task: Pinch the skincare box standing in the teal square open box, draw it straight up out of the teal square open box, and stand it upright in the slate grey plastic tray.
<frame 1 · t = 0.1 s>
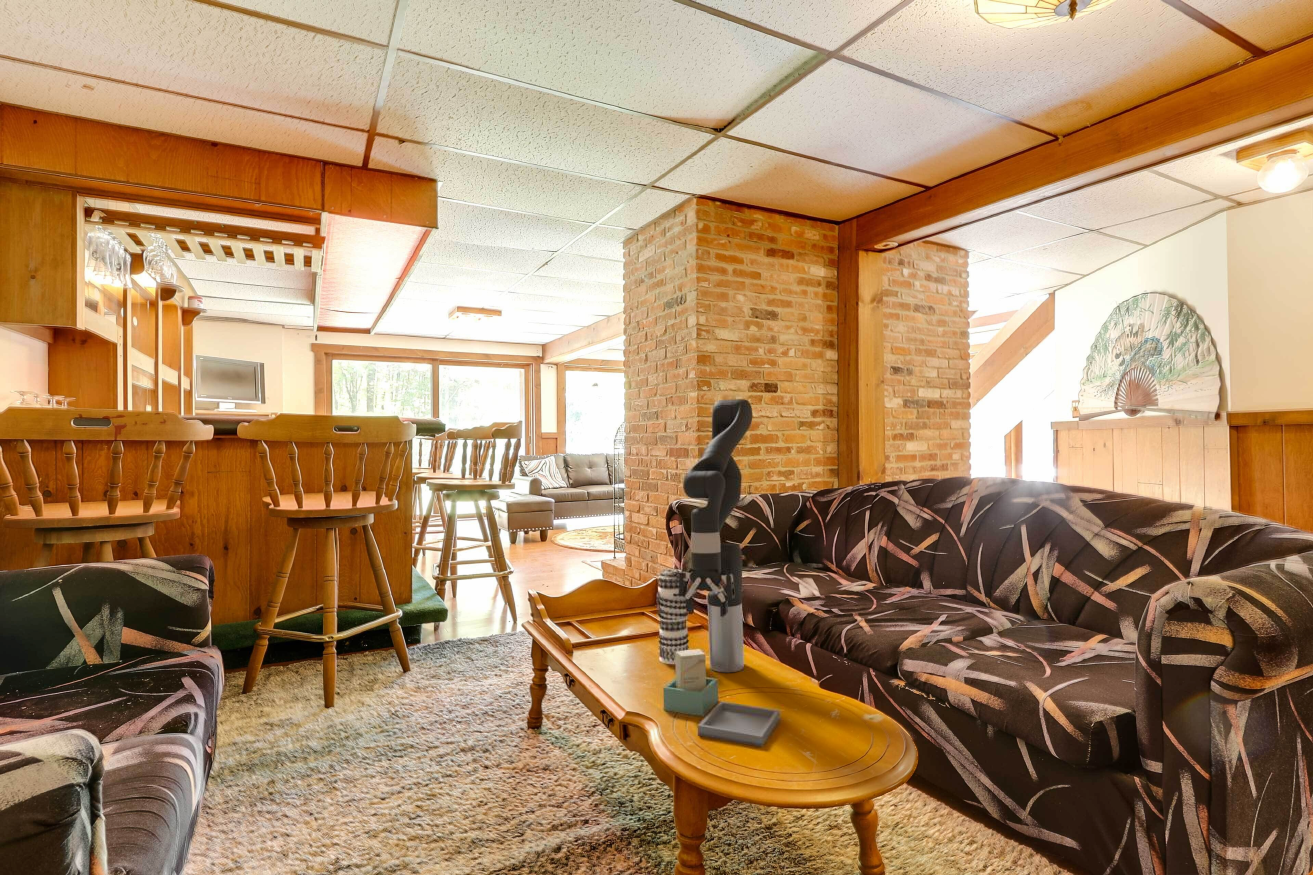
hand: (706, 614, 158), 17 cm above the table, tool pointing down, fingers open, 8 cm apart
skincare box: (691, 705, 145), resting in teal square open box
teal square open box: (691, 704, 145), on the table
decorative candle: (674, 659, 178), on the table
tray: (740, 727, 133), on the table
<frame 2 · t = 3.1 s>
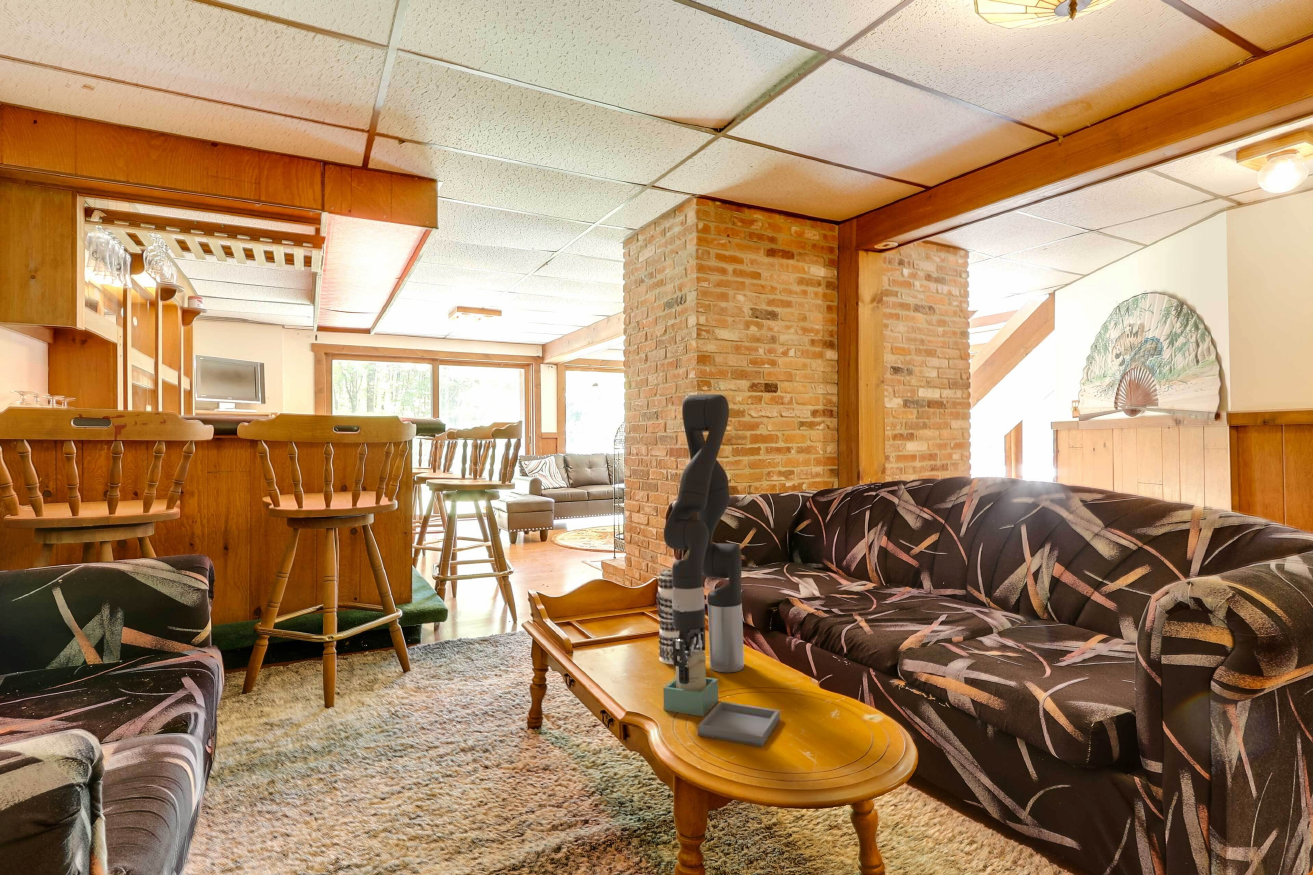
hand: (690, 677, 145), 6 cm above the table, tool pointing down, fingers closed on skincare box, 7 cm apart
skincare box: (691, 705, 145), resting in teal square open box, touching gripper
everything else where it was.
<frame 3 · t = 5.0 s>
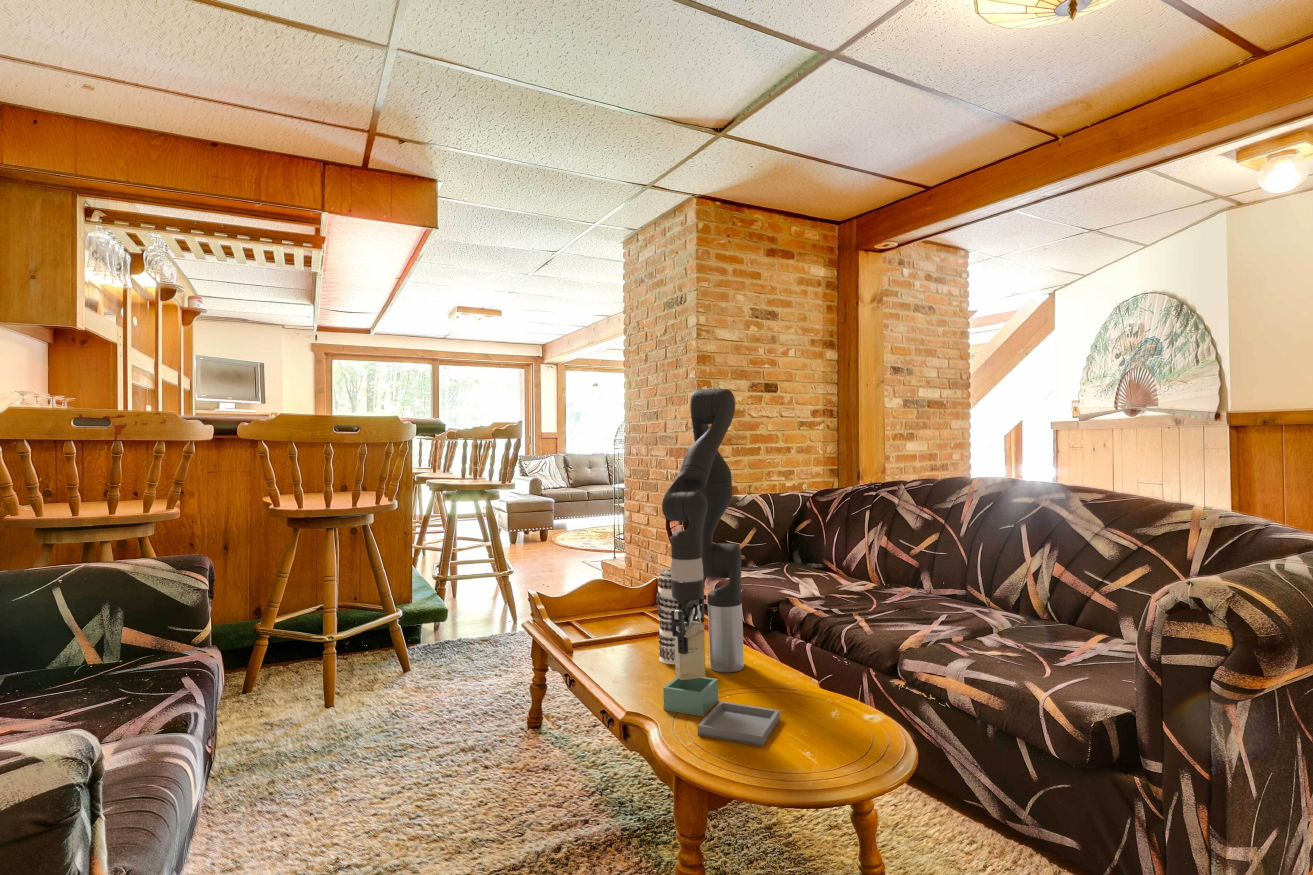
hand: (689, 648, 145), 13 cm above the table, tool pointing down, fingers closed on skincare box, 7 cm apart
skincare box: (690, 676, 145), point 6 cm above the table, touching gripper
everything else where it was.
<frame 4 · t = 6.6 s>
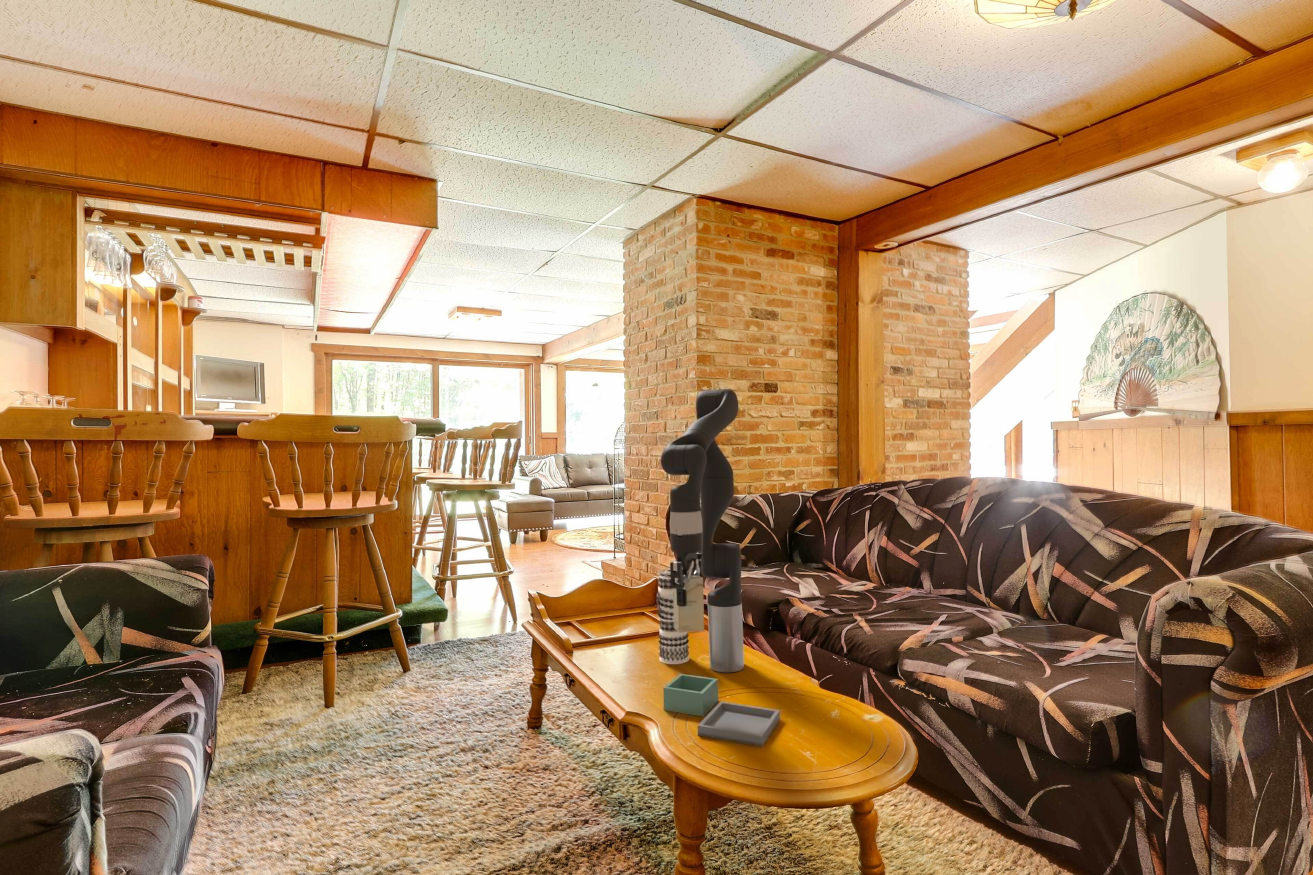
hand: (688, 601, 146), 24 cm above the table, tool pointing down, fingers closed on skincare box, 7 cm apart
skincare box: (689, 630, 145), point 17 cm above the table, touching gripper
everything else where it was.
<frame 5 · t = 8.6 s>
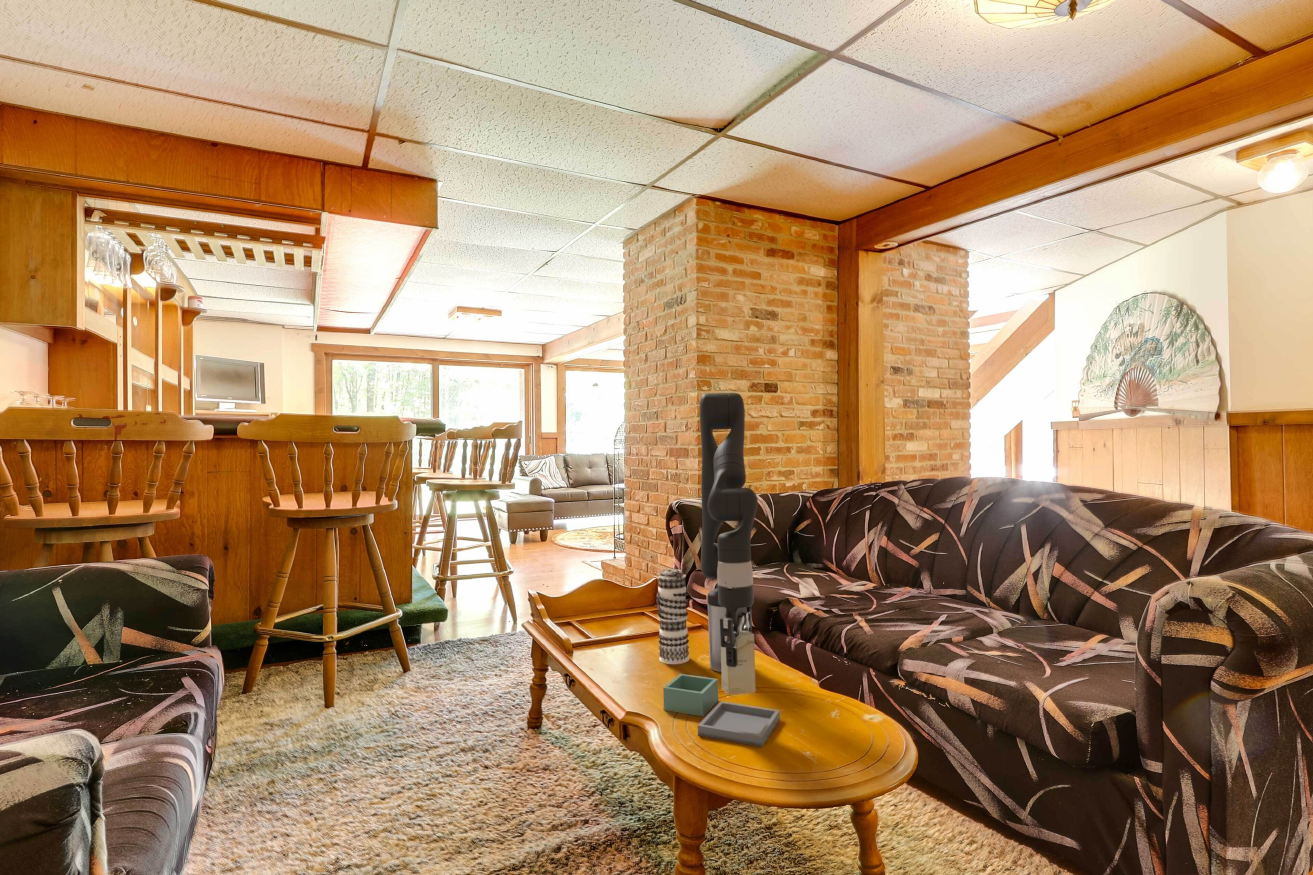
hand: (737, 660, 133), 14 cm above the table, tool pointing down, fingers closed on skincare box, 7 cm apart
skincare box: (738, 691, 133), point 7 cm above the table, touching gripper
everything else where it was.
when the fingers open (8 cm above the table, at t = 10.1 s): skincare box drops 1 cm, resting on tray.
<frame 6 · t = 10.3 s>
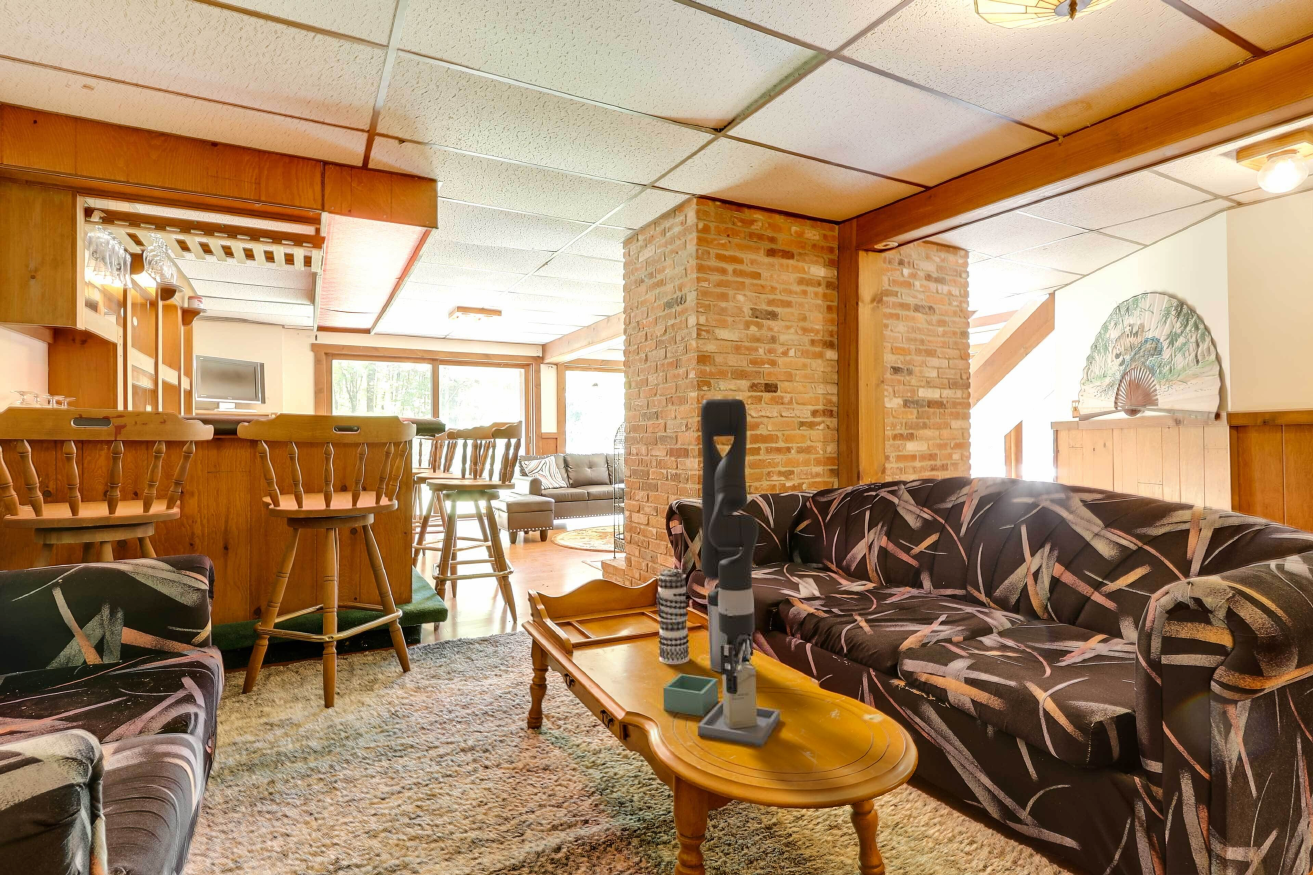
hand: (738, 685, 133), 9 cm above the table, tool pointing down, fingers open, 8 cm apart
skincare box: (740, 724, 133), resting on tray, touching gripper
everything else where it was.
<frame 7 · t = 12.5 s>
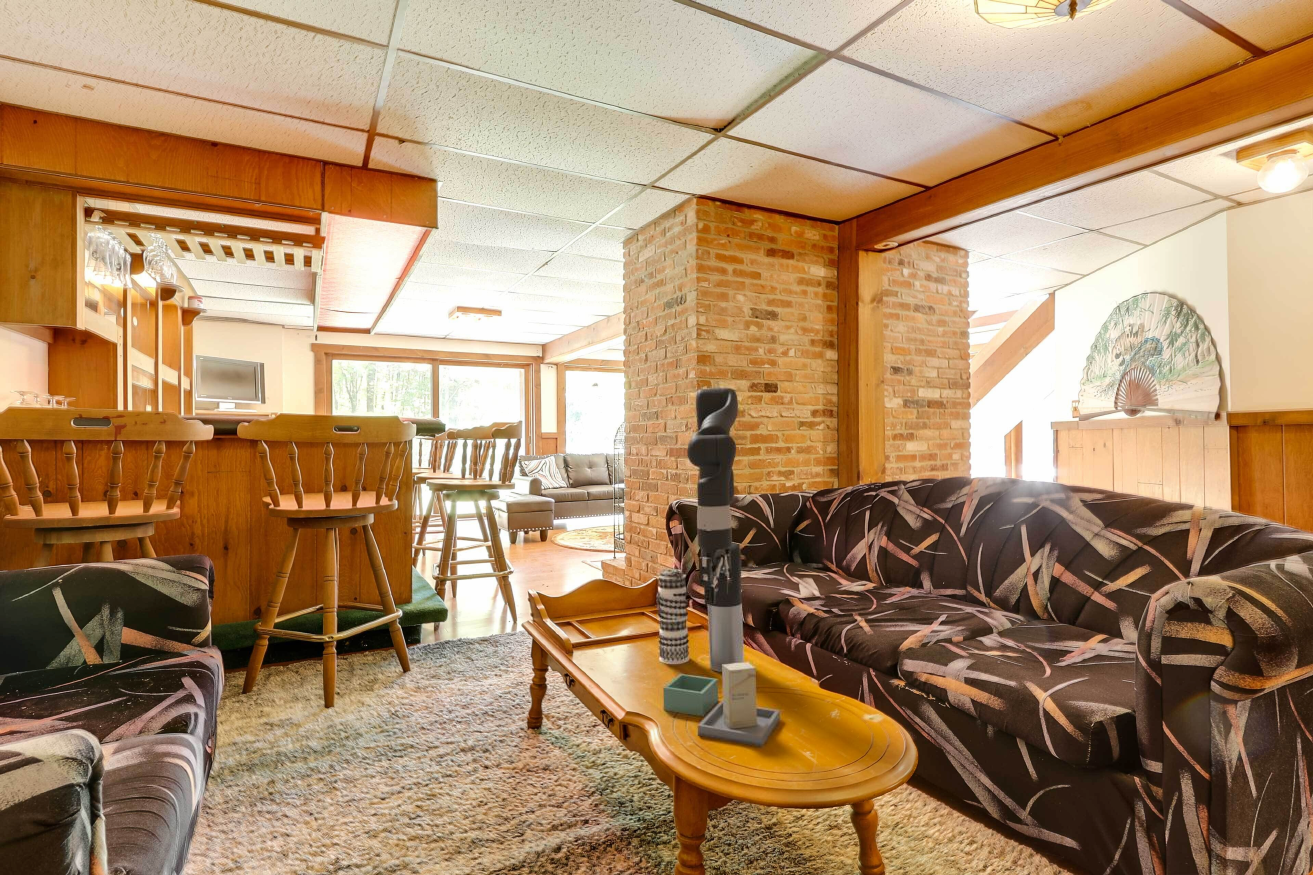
hand: (716, 599, 138), 26 cm above the table, tool pointing down, fingers open, 8 cm apart
skincare box: (740, 724, 133), resting on tray
everything else where it was.
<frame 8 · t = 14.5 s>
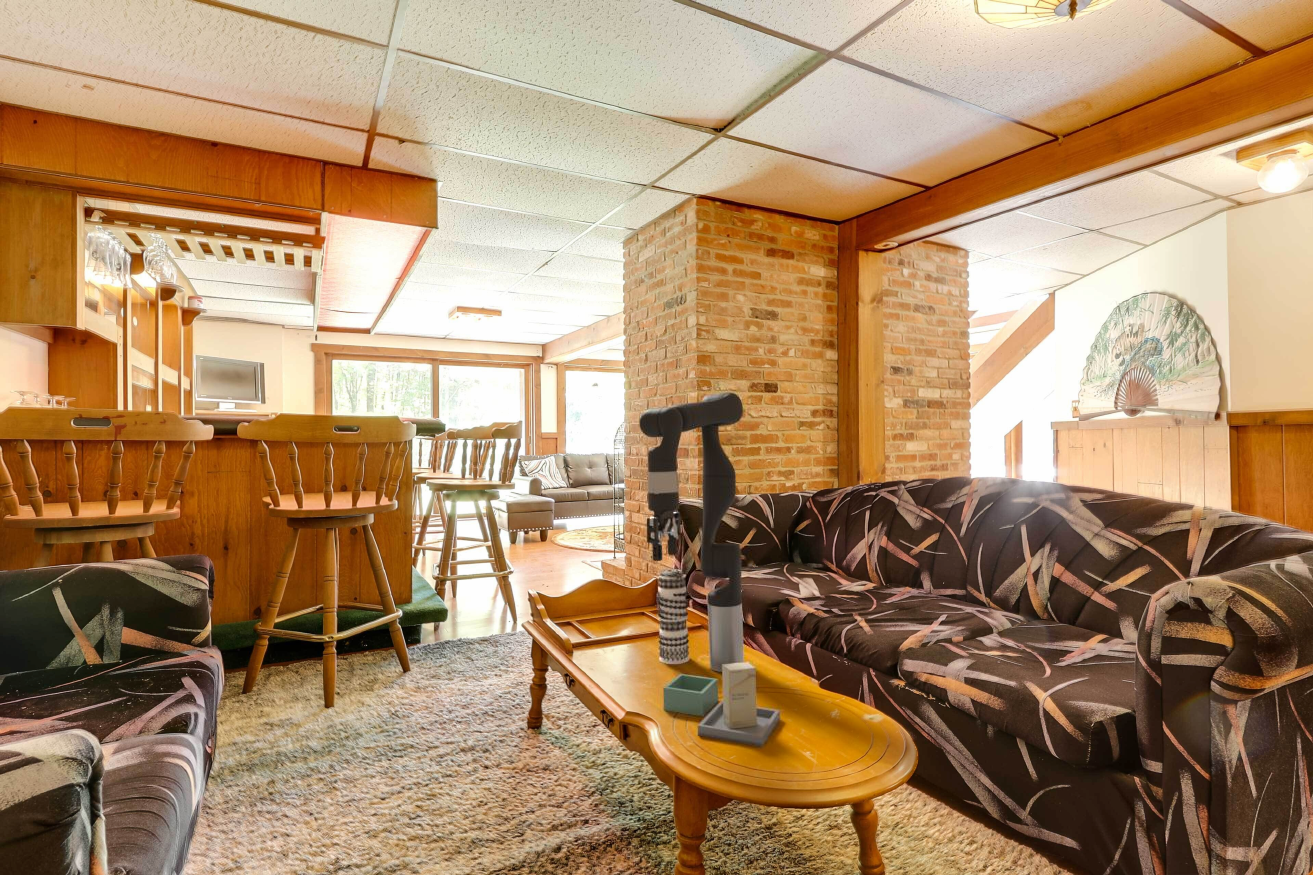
hand: (665, 557, 151), 33 cm above the table, tool pointing down, fingers open, 8 cm apart
nothing on the table moved.
at the end: skincare box inside the target area on the tray (0.5 cm from its centre), point 0.4 cm above the tray's base; skincare box tilted 0°; the gripper is holding nothing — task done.
